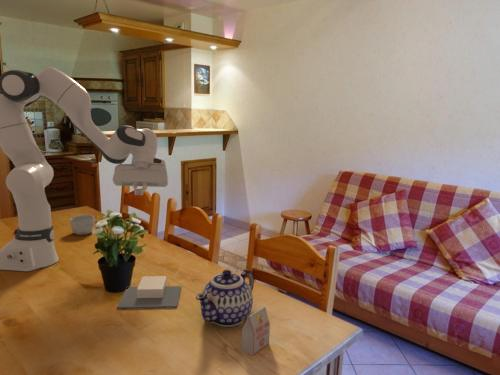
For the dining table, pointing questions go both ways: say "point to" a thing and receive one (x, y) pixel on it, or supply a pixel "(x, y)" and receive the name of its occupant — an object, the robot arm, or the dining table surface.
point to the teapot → (227, 298)
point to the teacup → (82, 224)
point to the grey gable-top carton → (256, 332)
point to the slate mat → (150, 299)
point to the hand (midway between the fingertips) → (138, 194)
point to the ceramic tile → (152, 287)
